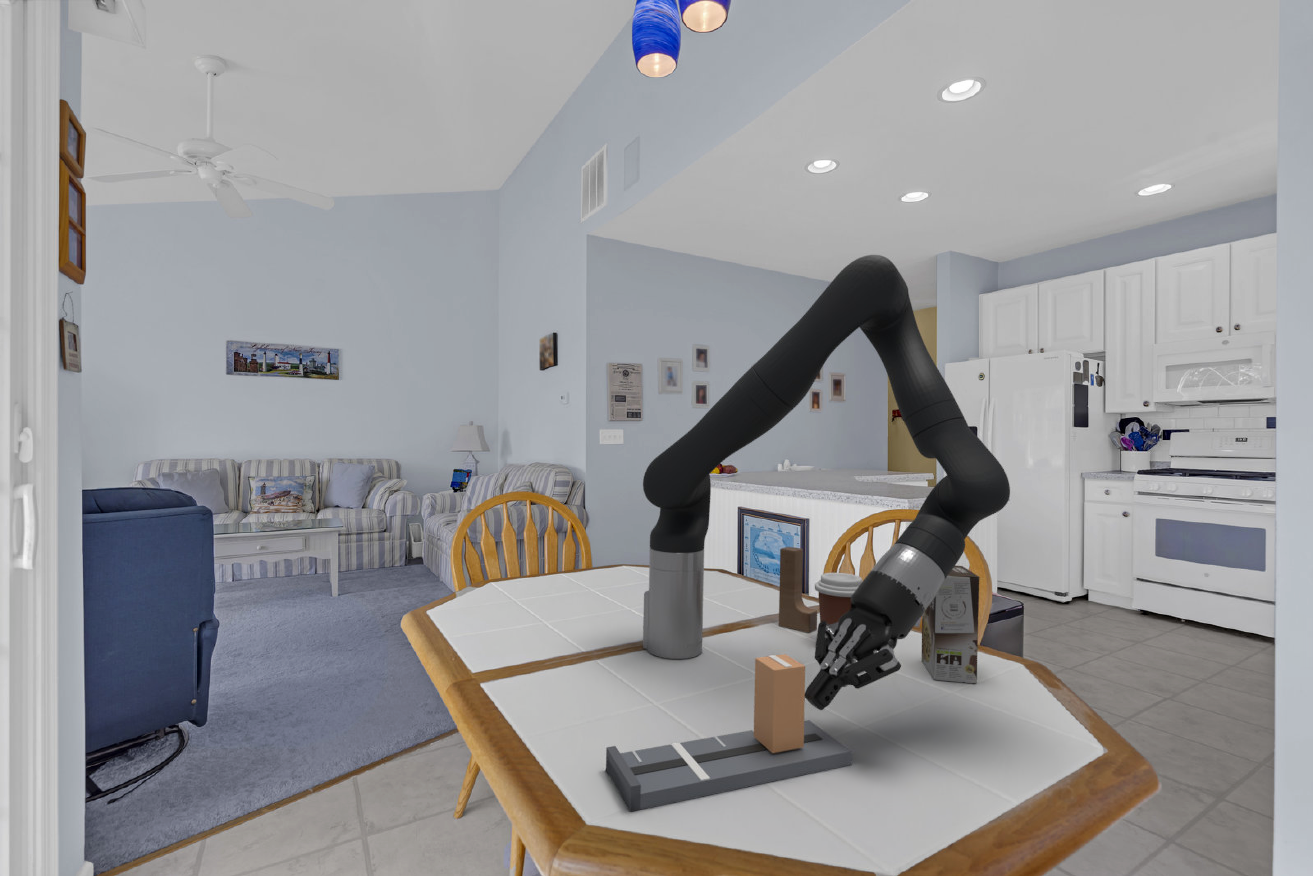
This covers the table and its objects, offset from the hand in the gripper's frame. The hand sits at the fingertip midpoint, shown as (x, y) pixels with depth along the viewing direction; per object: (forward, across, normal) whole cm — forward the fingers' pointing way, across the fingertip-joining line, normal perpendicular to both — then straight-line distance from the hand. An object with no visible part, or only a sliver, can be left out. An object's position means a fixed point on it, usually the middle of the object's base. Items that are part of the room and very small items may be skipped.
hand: (812, 703), depth 72 cm
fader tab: (+6, 0, -1) cm, 6 cm away
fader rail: (+11, 0, -4) cm, 12 cm away
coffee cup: (-16, -30, +24) cm, 41 cm away
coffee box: (-21, -14, +29) cm, 39 cm away
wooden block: (-14, -41, +22) cm, 49 cm away
